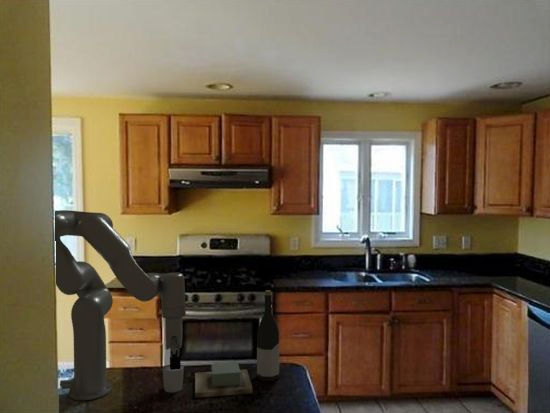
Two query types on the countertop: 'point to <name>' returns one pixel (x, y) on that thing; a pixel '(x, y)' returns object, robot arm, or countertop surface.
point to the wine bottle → (268, 344)
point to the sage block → (225, 374)
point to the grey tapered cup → (173, 378)
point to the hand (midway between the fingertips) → (176, 363)
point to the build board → (207, 390)
